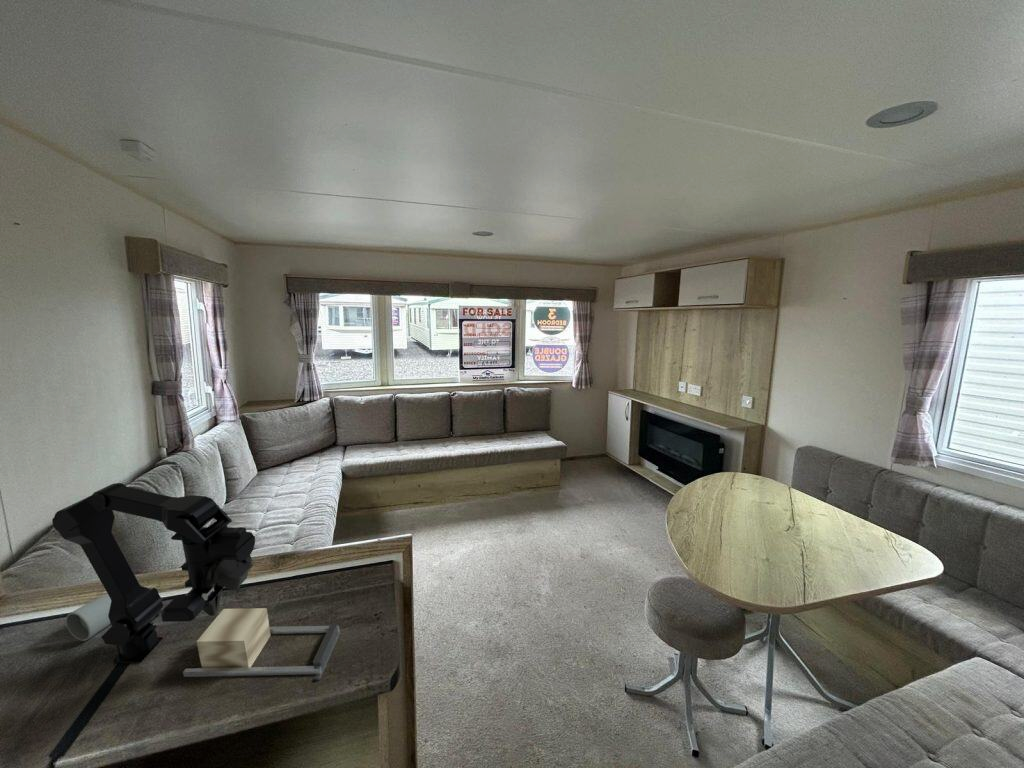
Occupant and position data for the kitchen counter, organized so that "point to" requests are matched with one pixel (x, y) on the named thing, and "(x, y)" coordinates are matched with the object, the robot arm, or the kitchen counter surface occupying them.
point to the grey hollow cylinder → (89, 618)
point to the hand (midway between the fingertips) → (213, 614)
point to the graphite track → (317, 669)
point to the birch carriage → (234, 638)
